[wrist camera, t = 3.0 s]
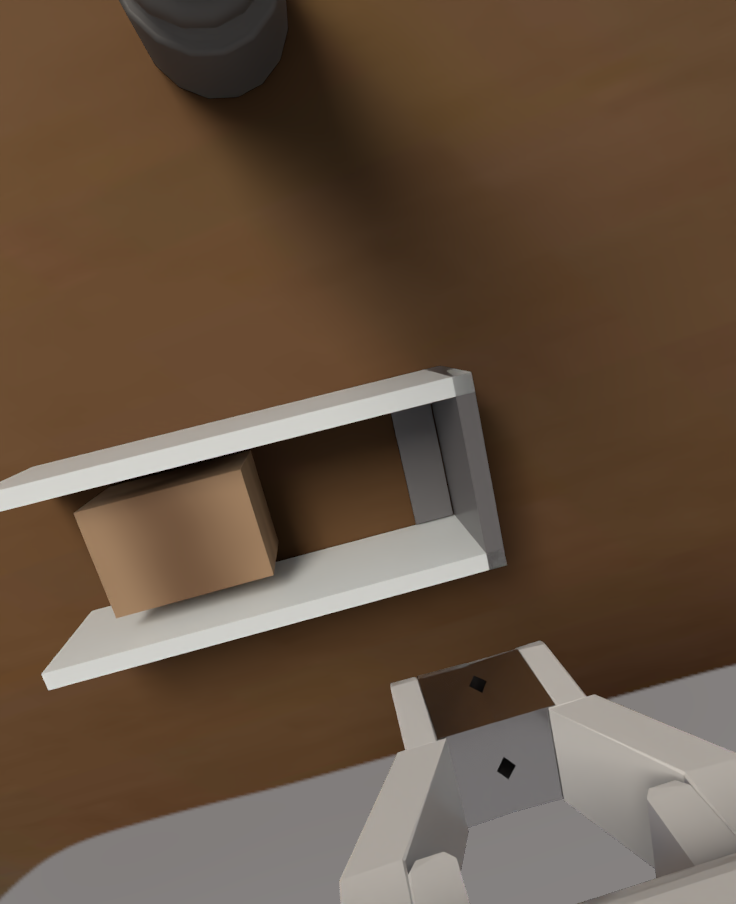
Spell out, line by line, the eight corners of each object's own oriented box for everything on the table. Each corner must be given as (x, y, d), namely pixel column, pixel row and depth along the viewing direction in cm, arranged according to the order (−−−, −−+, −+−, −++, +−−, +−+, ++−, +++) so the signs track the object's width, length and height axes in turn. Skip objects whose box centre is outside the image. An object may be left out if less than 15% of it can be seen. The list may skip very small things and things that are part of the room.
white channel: (440, 365, 25) (471, 371, 20) (471, 524, 27) (506, 565, 22) (32, 466, 24) (-39, 499, 19) (97, 624, 26) (48, 690, 21)
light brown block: (250, 449, 25) (240, 469, 21) (279, 540, 26) (273, 575, 22) (110, 485, 25) (73, 513, 21) (145, 576, 26) (116, 618, 22)
